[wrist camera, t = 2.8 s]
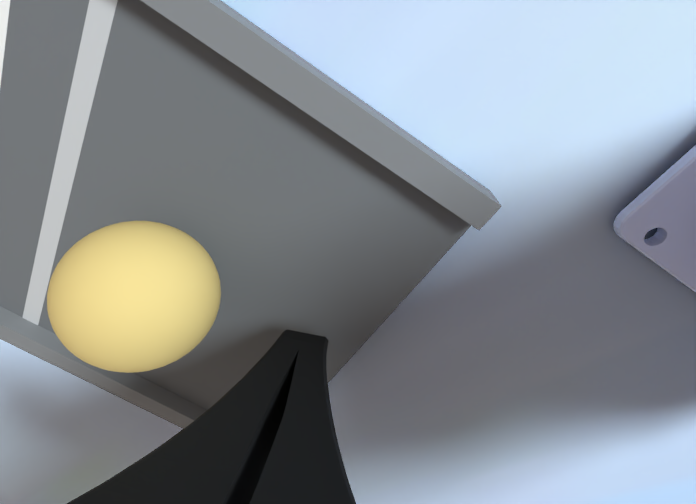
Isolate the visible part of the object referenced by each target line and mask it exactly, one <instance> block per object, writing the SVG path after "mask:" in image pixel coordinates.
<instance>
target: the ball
mask: <svg viewBox="0 0 696 504" xmlns="http://www.w3.org/2000/svg"><path fill="white" fill-rule="evenodd" d="M220 298H221V287H220V279H219V275H218V272H217V269H216V266H215V264H214V262H213V260H212V258H211V257H210V255H209V254H208V252H207V251H206V250H205V249H204V247H203V246H202V245H201V244H200V243H199V242H197V241H196V240H195V239H194V238H192V237H191V236H190V235H188V234H186V233H185V232H183V231H181V230H179V229H177V228H174V227H172V226H169V225H166V224H162V223H158V222H151V221H128V222H120V223H116V224H112V225H109V226H105V227H103V228H101V229H98V230H96V231H94V232H92V233H90V234H88V235H87V236H85V237H84V238H82V239H81V240H79V241H78V242H77V243H75V244H74V245H73V246H72V247H71V248H70V249H69V250H68V251H67V252H66V253H65V254H64V256H63V257H62V258H61V260H60V261H59V263H58V264H57V266H56V268H55V270H54V272H53V274H52V277H51V279H50V282H49V287H48V292H47V311H48V316H49V319H50V323H51V325H52V328H53V330H54V332H55V334H56V335H57V337H58V338H59V340H60V341H61V342H62V344H63V345H64V346H65V347H66V348H67V349H68V350H69V351H70V352H71V353H72V354H73V355H75V356H76V357H78V358H79V359H81V360H82V361H84V362H86V363H88V364H90V365H93V366H95V367H98V368H101V369H104V370H108V371H113V372H124V373H134V372H144V371H150V370H153V369H157V368H160V367H164V366H166V365H168V364H170V363H172V362H175V361H177V360H178V359H180V358H182V357H183V356H185V355H186V354H188V353H189V352H190V351H191V350H193V349H194V348H195V347H196V346H197V345H198V344H199V343H200V342H201V341H202V340H203V338H204V337H205V336H206V335H207V333H208V332H209V330H210V329H211V327H212V325H213V323H214V321H215V319H216V316H217V313H218V310H219V306H220Z"/></svg>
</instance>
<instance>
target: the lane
mask: <svg viewBox="0 0 696 504" xmlns="http://www.w3.org/2000/svg"><path fill="white" fill-rule="evenodd" d="M500 207H501V205H500V204H499V202H498V201H497V200H496V198H495V197H494V195H493V194H492V193H491V191H489V190H488V189H487V188H485V187H484V186H482V185H481V184H480V183H478V182H477V181H475V180H474V179H472V178H471V177H470V176H468V175H467V174H465V173H464V172H463V171H461V170H460V169H458V168H457V167H455V166H454V165H453V164H451V163H450V162H448V161H447V160H446V159H444V158H443V157H441V156H440V155H439V154H437V153H436V152H434V151H433V150H431V149H430V148H429V147H427V146H426V145H424V144H423V143H422V142H420V141H419V140H417V139H416V138H414V137H413V136H412V135H410V134H409V133H407V132H406V131H405V130H403V129H402V128H400V127H399V126H397V125H396V124H395V123H393V122H392V121H390V120H389V119H388V118H386V117H385V116H383V115H382V114H380V113H379V112H378V111H376V110H375V109H373V108H372V107H371V106H369V105H368V104H366V103H365V102H364V101H362V100H361V99H359V98H358V97H356V96H355V95H354V94H352V93H351V92H349V91H348V90H347V89H345V88H344V87H342V86H341V85H339V84H338V83H337V82H335V81H334V80H332V79H331V78H330V77H328V76H327V75H325V74H324V73H322V72H321V71H320V70H318V69H317V68H315V67H314V66H313V65H311V64H310V63H308V62H307V61H305V60H304V59H303V58H301V57H300V56H298V55H297V54H296V53H294V52H293V51H291V50H290V49H289V48H287V47H286V46H284V45H283V44H281V43H280V42H279V41H277V40H276V39H274V38H273V37H272V36H270V35H269V34H267V33H266V32H264V31H263V30H262V29H260V28H259V27H257V26H256V25H255V24H253V23H252V22H250V21H249V20H247V19H246V18H245V17H243V16H242V15H240V14H239V13H238V12H236V11H235V10H233V9H232V8H230V7H229V6H228V5H226V4H225V3H223V2H222V1H221V0H0V339H2V340H4V341H6V342H8V343H10V344H12V345H14V346H16V347H18V348H20V349H22V350H24V351H26V352H28V353H30V354H32V355H34V356H36V357H38V358H40V359H42V360H44V361H47V362H49V363H51V364H53V365H55V366H57V367H59V368H61V369H63V370H65V371H67V372H69V373H71V374H73V375H75V376H77V377H79V378H81V379H83V380H85V381H87V382H89V383H91V384H93V385H96V386H98V387H100V388H102V389H104V390H106V391H108V392H110V393H112V394H114V395H116V396H118V397H120V398H122V399H124V400H126V401H128V402H130V403H132V404H134V405H136V406H138V407H140V408H142V409H145V410H147V411H149V412H151V413H153V414H155V415H157V416H159V417H161V418H163V419H165V420H167V421H169V422H171V423H173V424H175V425H177V426H179V427H181V428H183V429H184V428H186V427H187V426H188V425H189V424H191V423H192V422H193V421H195V420H196V419H197V418H198V417H199V416H201V415H202V414H203V413H204V412H206V411H207V410H208V409H209V408H210V407H212V406H213V405H214V404H215V403H216V402H217V401H218V400H220V399H221V398H222V397H223V396H224V395H225V394H226V393H227V392H228V391H229V390H230V389H231V388H232V387H233V386H235V385H236V384H237V383H238V382H239V381H240V380H241V379H242V378H243V377H244V376H245V375H246V374H247V373H248V372H249V371H250V370H251V369H252V368H253V366H254V365H255V364H256V363H257V362H258V361H259V360H260V359H261V358H262V357H263V356H264V355H265V353H266V352H267V351H268V350H269V349H270V348H271V346H272V345H273V344H274V343H275V342H276V340H277V339H278V338H279V337H280V335H281V334H282V332H283V331H285V330H293V331H298V332H303V333H308V334H313V335H319V336H324V337H326V338H327V339H328V340H329V341H328V348H327V355H326V368H327V383H329V381H330V380H331V379H332V378H333V377H334V376H335V375H336V374H337V373H338V371H339V370H340V369H341V368H342V367H343V366H344V365H345V364H346V363H347V362H348V360H349V359H350V358H351V357H352V356H353V355H354V354H355V353H356V352H357V351H358V349H359V348H360V347H361V346H362V345H363V344H364V343H365V342H366V341H367V340H368V338H369V337H370V336H371V335H372V334H373V333H374V332H375V331H376V330H377V329H378V327H379V326H380V325H381V324H382V323H383V322H384V321H385V320H386V319H387V318H388V316H389V315H390V314H391V313H392V312H393V311H394V310H395V309H396V308H397V307H398V305H399V304H400V303H401V302H402V301H403V300H404V299H405V298H406V297H407V296H408V294H409V293H410V292H411V291H412V290H413V289H414V288H415V287H416V286H417V285H418V283H419V282H420V281H421V280H422V279H423V278H424V277H425V276H426V275H427V273H428V272H429V271H430V270H431V269H432V268H433V267H434V266H435V265H436V264H437V262H438V261H439V260H440V259H441V258H442V257H443V256H444V255H445V254H446V253H447V251H448V250H449V249H450V248H451V247H452V246H453V245H454V244H455V243H456V242H457V240H458V239H459V238H460V237H461V236H462V235H463V234H464V233H465V232H466V231H467V229H468V228H469V227H470V226H471V225H472V226H473V227H475V228H476V229H477V230H480V229H481V228H482V227H483V226H484V225H485V224H486V223H487V221H488V220H489V219H490V218H491V217H492V216H493V215H494V214H495V213H496V212H497V211H498V210H499V209H500ZM128 221H151V222H158V223H162V224H166V225H169V226H172V227H174V228H177V229H179V230H181V231H183V232H185V233H186V234H188V235H190V236H191V237H192V238H194V239H195V240H196V241H197V242H199V243H200V244H201V245H202V246H203V247H204V249H205V250H206V251H207V252H208V254H209V255H210V257H211V258H212V260H213V262H214V264H215V266H216V269H217V272H218V275H219V279H220V287H221V298H220V306H219V310H218V313H217V316H216V319H215V321H214V323H213V325H212V327H211V329H210V330H209V332H208V333H207V335H206V336H205V337H204V338H203V340H202V341H201V342H200V343H199V344H198V345H197V346H196V347H195V348H194V349H193V350H191V351H190V352H189V353H188V354H186V355H185V356H183V357H182V358H180V359H178V360H177V361H175V362H172V363H170V364H168V365H166V366H164V367H160V368H157V369H153V370H150V371H144V372H134V373H124V372H113V371H108V370H104V369H101V368H98V367H95V366H93V365H90V364H88V363H86V362H84V361H82V360H81V359H79V358H78V357H76V356H75V355H73V354H72V353H71V352H70V351H69V350H68V349H67V348H66V347H65V346H64V345H63V344H62V342H61V341H60V340H59V338H58V337H57V335H56V334H55V332H54V330H53V328H52V325H51V323H50V319H49V316H48V311H47V292H48V287H49V282H50V279H51V277H52V274H53V272H54V270H55V268H56V266H57V264H58V263H59V261H60V260H61V258H62V257H63V256H64V254H65V253H66V252H67V251H68V250H69V249H70V248H71V247H72V246H73V245H74V244H75V243H77V242H78V241H79V240H81V239H82V238H84V237H85V236H87V235H88V234H90V233H92V232H94V231H96V230H98V229H101V228H103V227H105V226H109V225H112V224H116V223H120V222H128Z"/></svg>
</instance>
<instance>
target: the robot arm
mask: <svg viewBox="0 0 696 504" xmlns="http://www.w3.org/2000/svg"><path fill="white" fill-rule="evenodd" d="M613 226H614V231H615V232H616V233H617V235H618V236H619V237H621V238H622V239H623V240H625V241H626V242H627V243H629V244H630V245H631V246H633V247H634V248H636V249H637V250H638V251H640V252H641V253H642V254H644V255H645V256H646V257H648V258H649V259H651V260H652V261H653V262H655V263H656V264H657V265H659V266H660V267H661V268H663V269H664V270H665V271H667V272H668V273H670V274H671V275H672V276H674V277H675V278H676V279H678V280H679V281H680V282H682V283H683V284H685V285H686V286H687V287H689V288H690V289H691V290H693V291H694V292H695V293H696V145H695V146H694V147H693V148H692V149H690V150H689V151H688V152H687V153H686V154H685V155H684V156H683V157H681V158H680V159H679V160H678V161H677V162H676V163H675V164H674V165H672V166H671V167H670V168H669V169H668V170H667V171H666V172H664V173H663V174H662V175H661V176H660V177H659V178H658V179H657V180H655V181H654V182H653V183H652V184H651V185H650V186H649V187H648V188H646V189H645V190H644V191H643V192H642V193H641V194H640V195H639V196H637V197H636V198H635V199H634V200H633V201H632V202H631V203H630V204H628V205H627V206H626V207H625V208H624V209H623V210H622V211H621V212H620V213H619V214H618V215H617V217H616V218H615V221H614V224H613ZM654 228H658V229H657V232H656V233H655V235H654V236H652V237H651V238H649V239H644V237H645V235H646V234H647V232H648V231H650V230H652V229H654ZM328 341H329V340H328V339H327V338H326V337H324V336H319V335H313V334H308V333H303V332H298V331H293V330H285V331H283V332H282V334H281V335H280V337H279V338H278V339H277V340H276V342H275V343H274V344H273V345H272V346H271V348H270V349H269V350H268V351H267V352H266V353H265V355H264V356H263V357H262V358H261V359H260V360H259V361H258V362H257V363H256V364H255V365H254V366H253V368H252V369H251V370H250V371H249V372H248V373H247V374H246V375H245V376H244V377H243V378H242V379H241V380H240V381H239V382H238V383H237V384H236V385H235V386H233V387H232V388H231V389H230V390H229V391H228V392H227V393H226V394H225V395H224V396H223V397H222V398H221V399H220V400H218V401H217V402H216V403H215V404H214V405H213V406H212V407H210V408H209V409H208V410H207V411H206V412H204V413H203V414H202V415H201V416H199V417H198V418H197V419H196V420H195V421H193V422H192V423H191V424H189V425H188V426H187V427H186V428H184V429H183V430H181V431H180V432H179V433H177V434H176V435H175V436H173V437H172V438H171V439H169V440H168V441H167V442H165V443H164V444H162V445H161V446H160V447H158V448H157V449H155V450H154V451H152V452H151V453H149V454H148V455H146V456H145V457H143V458H142V459H140V460H139V461H137V462H135V463H134V464H132V465H131V466H129V467H128V468H126V469H125V470H123V471H121V472H120V473H118V474H117V475H115V476H114V477H112V478H111V479H109V480H107V481H106V482H104V483H102V484H101V485H99V486H97V487H95V488H94V489H92V490H90V491H88V492H86V493H85V494H83V495H81V496H79V497H78V498H76V499H74V500H72V501H71V502H69V503H67V504H356V502H355V499H354V496H353V493H352V490H351V488H350V485H349V482H348V478H347V475H346V472H345V468H344V464H343V461H342V457H341V453H340V449H339V446H338V442H337V437H336V433H335V428H334V423H333V418H332V412H331V406H330V400H329V391H328V383H327V368H326V355H327V348H328Z"/></svg>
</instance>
